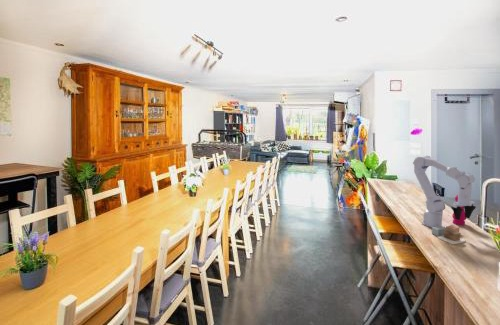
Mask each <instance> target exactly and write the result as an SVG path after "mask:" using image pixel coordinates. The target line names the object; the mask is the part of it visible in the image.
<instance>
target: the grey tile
mask: <svg viewBox="0 0 500 325" xmlns="http://www.w3.org/2000/svg"><path fill="white" fill-rule="evenodd" d="M437 239H439V240H441V241H445V242H446V243H449V244H452V245H458V244H462V243H466V239H463V238H461V237H460V240H458V241H453V240H450V239H448V238H445V237H444V235H443V236H437Z"/></svg>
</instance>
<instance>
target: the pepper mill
mask: <svg viewBox="0 0 500 325" xmlns="http://www.w3.org/2000/svg"><path fill="white" fill-rule="evenodd" d="M454 200H455V203H456V202H458V194H457V195H456V196H455V197H454ZM460 208H461V209H463V211H462V213H461V217H460V220H457V219H455V215H454V212H453V213H452V215H451V216H452V219H453V220H452V223H453V225H456V226H465V225H466V220H467V218H466V217H465V209H464V206H462V207H460Z"/></svg>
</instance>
